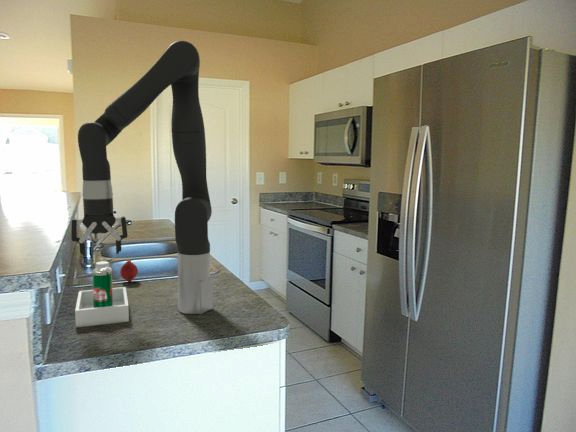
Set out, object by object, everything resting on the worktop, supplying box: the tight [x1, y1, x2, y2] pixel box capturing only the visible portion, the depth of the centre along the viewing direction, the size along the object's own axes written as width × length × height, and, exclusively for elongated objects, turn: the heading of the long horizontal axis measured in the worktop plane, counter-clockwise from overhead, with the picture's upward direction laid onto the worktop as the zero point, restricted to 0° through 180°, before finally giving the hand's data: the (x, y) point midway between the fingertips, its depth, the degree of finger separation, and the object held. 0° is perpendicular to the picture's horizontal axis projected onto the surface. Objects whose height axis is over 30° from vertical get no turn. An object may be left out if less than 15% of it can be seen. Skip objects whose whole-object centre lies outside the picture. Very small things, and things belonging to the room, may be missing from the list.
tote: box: [74, 286, 130, 328], centre depth 127 cm, size 13×18×4 cm
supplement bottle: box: [92, 260, 114, 288], centre depth 144 cm, size 6×6×10 cm
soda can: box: [91, 268, 113, 308], centre depth 126 cm, size 5×5×12 cm
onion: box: [119, 259, 138, 282], centre depth 158 cm, size 6×6×8 cm
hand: (101, 254), depth 125 cm, fingers open, 8 cm apart
